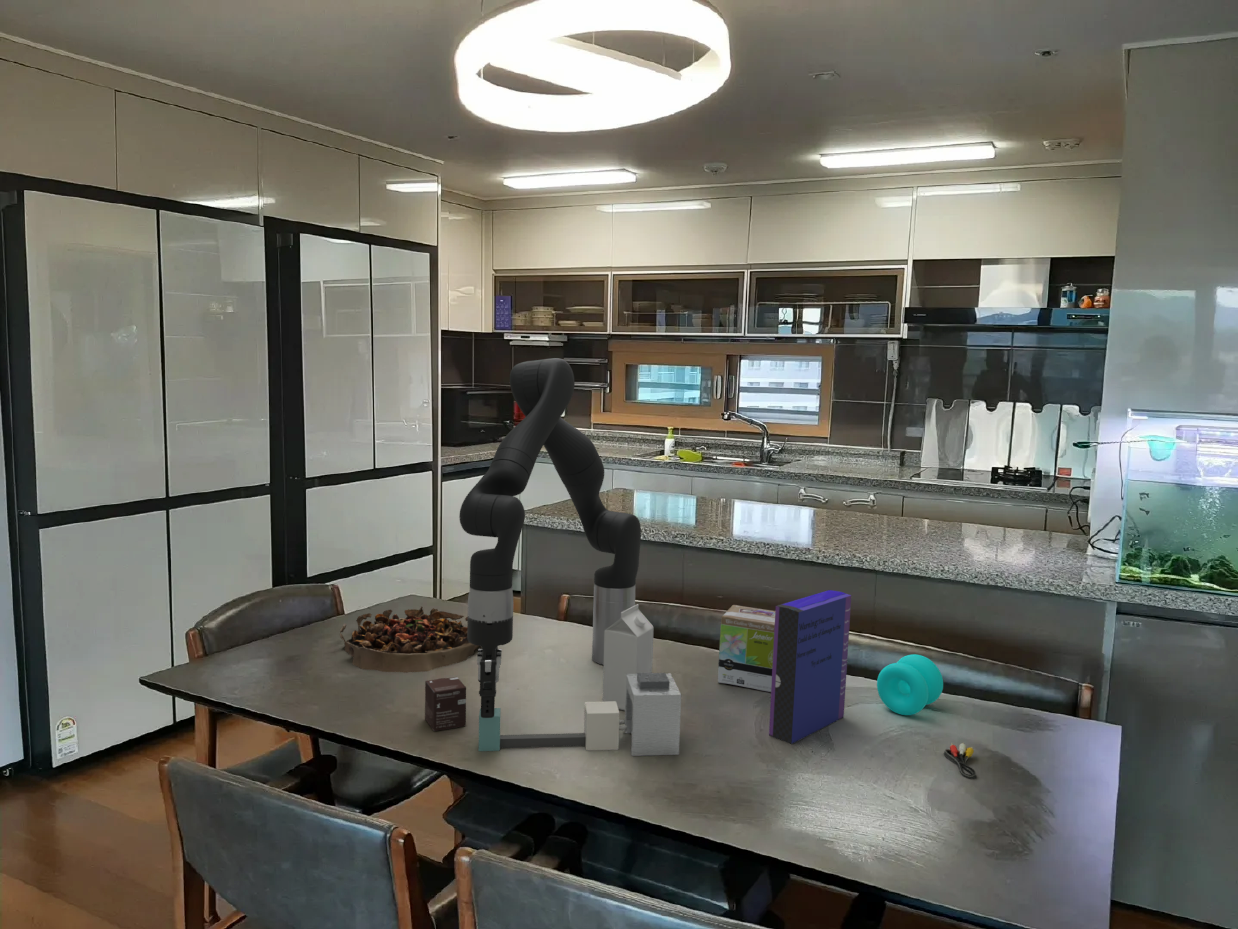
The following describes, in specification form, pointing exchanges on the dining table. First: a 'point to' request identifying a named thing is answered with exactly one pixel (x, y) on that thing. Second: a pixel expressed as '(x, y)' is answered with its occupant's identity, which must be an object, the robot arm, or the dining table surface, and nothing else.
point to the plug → (596, 736)
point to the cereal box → (809, 665)
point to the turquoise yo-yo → (909, 684)
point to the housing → (653, 713)
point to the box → (445, 703)
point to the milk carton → (626, 653)
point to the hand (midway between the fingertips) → (488, 706)
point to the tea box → (747, 647)
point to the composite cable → (961, 759)
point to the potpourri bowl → (409, 641)
